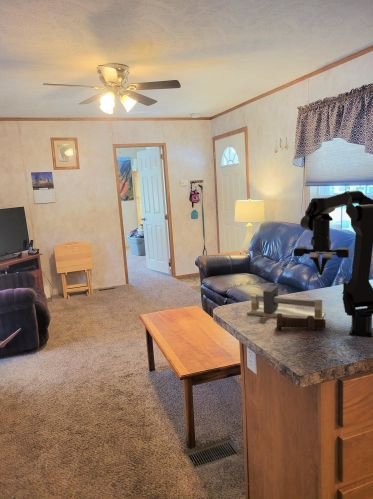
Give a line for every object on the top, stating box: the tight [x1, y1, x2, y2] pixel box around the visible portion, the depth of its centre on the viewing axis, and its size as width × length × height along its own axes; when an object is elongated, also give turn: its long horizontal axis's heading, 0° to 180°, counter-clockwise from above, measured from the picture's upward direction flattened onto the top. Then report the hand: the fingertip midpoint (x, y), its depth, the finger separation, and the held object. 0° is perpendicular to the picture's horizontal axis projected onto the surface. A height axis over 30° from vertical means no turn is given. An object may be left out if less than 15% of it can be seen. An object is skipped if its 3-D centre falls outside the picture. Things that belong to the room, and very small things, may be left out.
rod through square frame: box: [246, 293, 327, 319], centre depth 137 cm, size 10×26×6 cm, turn 60°
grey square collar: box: [262, 285, 279, 313], centre depth 139 cm, size 8×3×8 cm, turn 150°
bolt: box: [276, 313, 327, 332], centre depth 122 cm, size 6×5×15 cm
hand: (321, 275), depth 138 cm, fingers closed
